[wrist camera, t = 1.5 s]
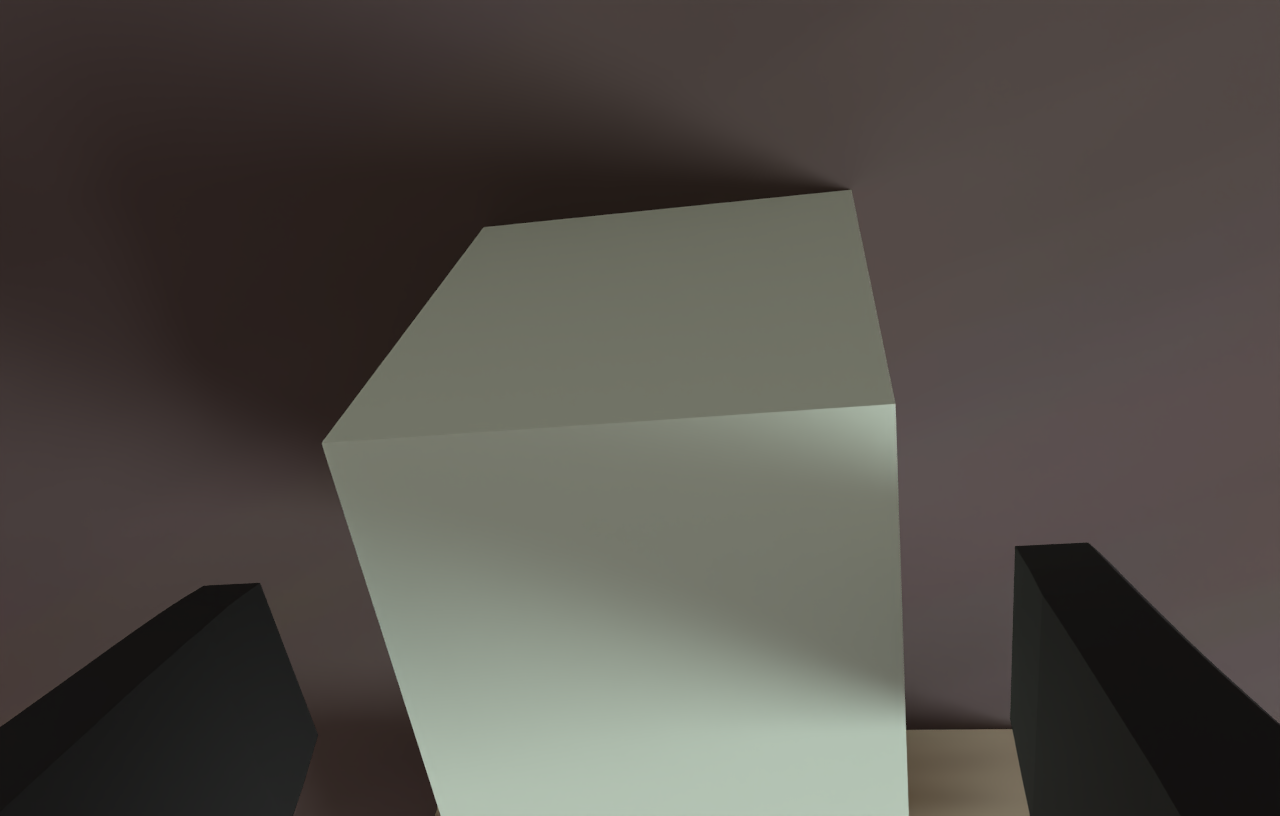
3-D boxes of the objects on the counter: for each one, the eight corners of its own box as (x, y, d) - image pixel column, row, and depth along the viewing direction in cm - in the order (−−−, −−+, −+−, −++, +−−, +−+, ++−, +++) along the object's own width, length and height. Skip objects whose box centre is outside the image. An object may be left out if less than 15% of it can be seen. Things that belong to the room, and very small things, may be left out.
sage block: (850, 188, 14) (895, 404, 9) (866, 507, 16) (908, 831, 11) (484, 226, 15) (321, 442, 9) (548, 524, 17) (445, 833, 12)
